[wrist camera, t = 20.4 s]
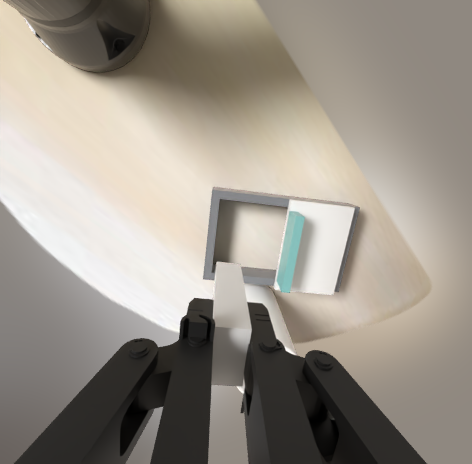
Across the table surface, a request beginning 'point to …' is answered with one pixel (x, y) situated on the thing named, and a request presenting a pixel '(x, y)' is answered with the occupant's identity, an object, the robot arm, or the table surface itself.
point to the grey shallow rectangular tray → (270, 199)
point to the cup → (268, 299)
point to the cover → (312, 247)
